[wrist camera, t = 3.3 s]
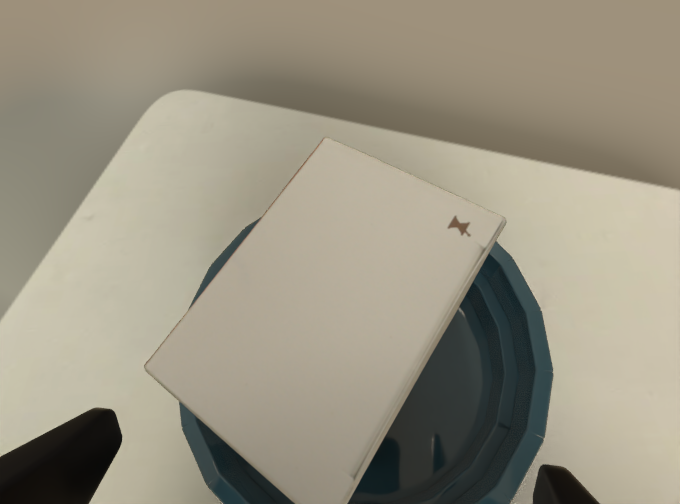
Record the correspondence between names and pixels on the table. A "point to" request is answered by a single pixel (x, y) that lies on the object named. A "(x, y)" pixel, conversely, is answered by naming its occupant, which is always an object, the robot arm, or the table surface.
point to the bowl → (435, 407)
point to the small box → (326, 319)
